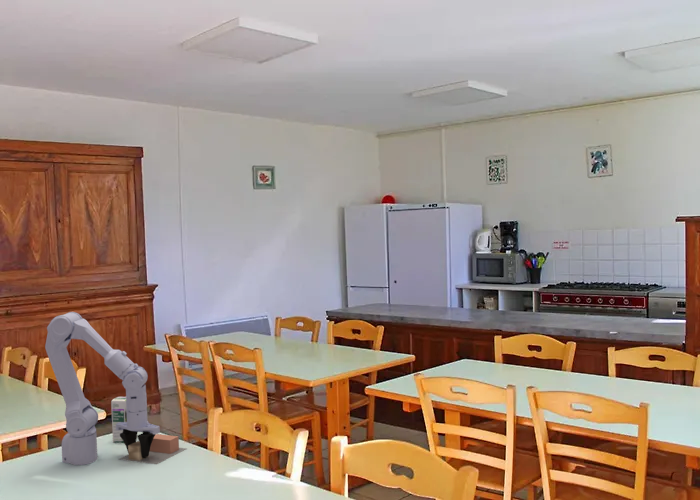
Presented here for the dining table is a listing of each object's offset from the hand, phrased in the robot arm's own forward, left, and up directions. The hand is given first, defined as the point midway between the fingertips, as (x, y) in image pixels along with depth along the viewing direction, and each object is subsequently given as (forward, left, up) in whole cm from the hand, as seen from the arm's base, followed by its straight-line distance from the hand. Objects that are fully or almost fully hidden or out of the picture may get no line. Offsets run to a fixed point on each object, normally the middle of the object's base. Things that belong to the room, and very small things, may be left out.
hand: (138, 456), depth 193 cm
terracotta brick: (+3, +8, 0) cm, 8 cm away
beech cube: (0, 0, 0) cm, 0 cm away
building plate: (+2, +4, -1) cm, 5 cm away
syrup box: (-16, +12, -2) cm, 20 cm away
